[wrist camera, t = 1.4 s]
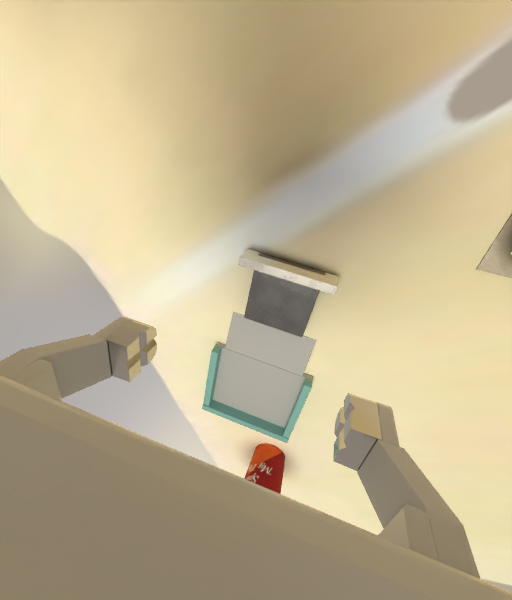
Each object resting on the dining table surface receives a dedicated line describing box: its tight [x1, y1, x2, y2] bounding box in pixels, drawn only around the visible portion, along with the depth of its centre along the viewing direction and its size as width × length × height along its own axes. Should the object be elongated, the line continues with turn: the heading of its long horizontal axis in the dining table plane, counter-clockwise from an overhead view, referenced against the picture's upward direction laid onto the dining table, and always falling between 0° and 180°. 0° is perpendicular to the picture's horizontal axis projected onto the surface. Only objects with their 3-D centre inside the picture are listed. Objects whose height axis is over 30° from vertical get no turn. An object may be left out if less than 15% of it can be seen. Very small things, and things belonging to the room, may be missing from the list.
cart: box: [239, 249, 338, 337], centre depth 33 cm, size 9×11×4 cm
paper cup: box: [244, 444, 285, 494], centre depth 44 cm, size 8×8×14 cm
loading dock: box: [202, 312, 316, 443], centre depth 41 cm, size 19×15×4 cm
